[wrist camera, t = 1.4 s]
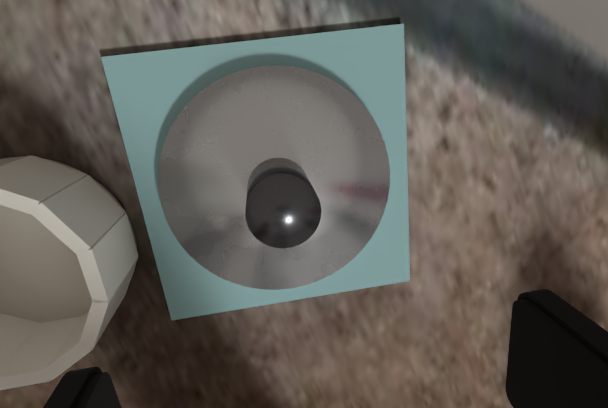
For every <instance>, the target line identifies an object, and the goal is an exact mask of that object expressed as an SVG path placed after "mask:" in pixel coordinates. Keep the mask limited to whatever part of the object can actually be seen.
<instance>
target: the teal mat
mask: <svg viewBox="0 0 608 408" xmlns="http://www.w3.org/2000/svg"><path fill="white" fill-rule="evenodd" d="M101 59H102V62H103V66H104V70H105V74H106V77H107V81H108V85H109V89H110V92H111V96H112V100H113V104H114V107H115V111H116V115H117V119H118V122H119V126H120V130H121V134H122V137H123V141H124V145H125V149H126V152H127V156H128V160H129V164H130V167H131V171H132V175H133V178H134V182H135V186H136V190H137V193H138V197H139V201H140V205H141V208H142V212H143V216H144V220H145V223H146V227H147V231H148V235H149V238H150V242H151V246H152V250H153V253H154V257H155V261H156V265H157V268H158V272H159V276H160V280H161V283H162V287H163V291H164V295H165V298H166V302H167V306H168V310H169V313H170V317H171V321H172V320H178V319H184V318H190V317H196V316H202V315H208V314H214V313H220V312H226V311H232V310H238V309H244V308H250V307H256V306H262V305H268V304H274V303H280V302H286V301H292V300H298V299H304V298H309V297H315V296H321V295H327V294H333V293H339V292H345V291H351V290H357V289H363V288H369V287H375V286H381V285H387V284H393V283H399V282H405V281H410V261H409V219H408V177H407V135H406V94H405V52H404V24H396V25H387V26H378V27H369V28H360V29H350V30H341V31H332V32H323V33H314V34H305V35H296V36H287V37H278V38H269V39H259V40H250V41H241V42H232V43H223V44H214V45H205V46H196V47H187V48H178V49H169V50H159V51H150V52H141V53H132V54H123V55H114V56H105V57H101ZM273 65H280V66H291V67H297V68H302V69H306V70H310V71H313V72H315V73H318V74H321V75H323V76H326V77H328V78H329V79H331V80H333V81H335V82H336V83H338V84H340V85H341V86H343V87H344V88H345V89H347V90H348V91H349V92H351V93H352V94H353V95H354V96H355V97H356V98H357V99H358V100H359V101H360V102H361V103H362V104H363V105H364V106H365V108H366V109H367V110H368V112H369V113H370V114H371V116H372V117H373V119H374V121H375V122H376V124H377V126H378V128H379V130H380V132H381V134H382V137H383V140H384V142H385V145H386V149H387V153H388V157H389V166H390V188H389V194H388V200H387V204H386V207H385V211H384V214H383V216H382V219H381V221H380V223H379V226H378V227H377V229H376V231H375V233H374V234H373V236H372V238H371V239H370V240H369V242H368V243H367V244H366V246H365V247H364V248H363V249H362V251H361V252H360V253H359V254H358V255H357V256H356V257H355V258H354V259H353V260H351V261H350V262H349V263H348V264H346V265H345V266H344V267H343V268H341V269H340V270H338V271H336V272H335V273H333V274H332V275H330V276H328V277H326V278H324V279H321V280H319V281H317V282H314V283H311V284H308V285H305V286H300V287H296V288H290V289H281V290H264V289H256V288H250V287H246V286H242V285H238V284H235V283H232V282H230V281H227V280H224V279H222V278H220V277H219V276H217V275H215V274H213V273H211V272H210V271H208V270H207V269H205V268H204V267H202V266H201V265H200V264H199V263H197V262H196V261H195V260H194V259H193V258H192V257H191V256H190V255H189V254H188V253H187V252H186V251H185V250H184V248H183V247H182V246H181V245H180V244H179V242H178V241H177V239H176V237H175V236H174V234H173V233H172V231H171V229H170V227H169V225H168V223H167V221H166V218H165V215H164V212H163V209H162V206H161V201H160V196H159V190H158V170H159V160H160V156H161V152H162V148H163V144H164V142H165V139H166V137H167V134H168V132H169V130H170V128H171V126H172V125H173V123H174V121H175V119H176V118H177V116H178V115H179V113H180V112H181V111H182V110H183V109H184V107H185V106H186V105H187V104H188V102H190V101H191V100H192V99H193V98H194V97H195V96H196V95H197V94H198V93H199V92H200V91H202V90H203V89H205V88H206V87H207V86H209V85H210V84H212V83H213V82H215V81H217V80H219V79H221V78H223V77H225V76H227V75H229V74H232V73H235V72H238V71H241V70H244V69H248V68H253V67H259V66H273Z"/></svg>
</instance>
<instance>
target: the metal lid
mask: <svg viewBox="0 0 608 408" xmlns="http://www.w3.org/2000/svg"><path fill="white" fill-rule="evenodd" d="M389 188H390V166H389V157H388V153H387V149H386V145H385V142H384V140H383V137H382V134H381V132H380V130H379V128H378V126H377V124H376V122H375V121H374V119H373V117H372V116H371V114H370V113H369V112H368V110H367V109H366V108H365V106H364V105H363V104H362V103H361V102H360V101H359V100H358V99H357V98H356V97H355V96H354V95H353V94H352V93H351V92H349V91H348V90H347V89H345V88H344V87H343V86H341V85H340V84H338V83H336V82H335V81H333V80H331V79H329V78H328V77H326V76H323V75H321V74H318V73H315V72H313V71H310V70H306V69H302V68H297V67H291V66H280V65H273V66H259V67H253V68H248V69H244V70H241V71H238V72H235V73H232V74H229V75H227V76H225V77H223V78H221V79H219V80H217V81H215V82H213V83H212V84H210V85H209V86H207V87H206V88H205V89H203V90H202V91H200V92H199V93H198V94H197V95H196V96H195V97H194V98H193V99H192V100H191V101H190V102H188V104H187V105H186V106H185V107H184V109H183V110H182V111H181V112H180V113H179V115H178V116H177V118H176V119H175V121H174V123H173V125H172V126H171V128H170V130H169V132H168V134H167V137H166V139H165V142H164V144H163V148H162V152H161V156H160V160H159V170H158V190H159V196H160V201H161V206H162V209H163V212H164V215H165V218H166V221H167V223H168V225H169V227H170V229H171V231H172V233H173V234H174V236H175V237H176V239H177V241H178V242H179V244H180V245H181V246H182V247H183V248H184V250H185V251H186V252H187V253H188V254H189V255H190V256H191V257H192V258H193V259H194V260H195V261H196V262H197V263H199V264H200V265H201V266H202V267H204V268H205V269H207V270H208V271H210V272H211V273H213V274H215V275H217V276H219V277H220V278H222V279H224V280H227V281H230V282H232V283H235V284H238V285H242V286H246V287H250V288H256V289H264V290H281V289H290V288H296V287H300V286H305V285H308V284H311V283H314V282H317V281H319V280H321V279H324V278H326V277H328V276H330V275H332V274H333V273H335V272H336V271H338V270H340V269H341V268H343V267H344V266H345V265H346V264H348V263H349V262H350V261H351V260H353V259H354V258H355V257H356V256H357V255H358V254H359V253H360V252H361V251H362V249H363V248H364V247H365V246H366V244H367V243H368V242H369V240H370V239H371V238H372V236H373V234H374V233H375V231H376V229H377V227H378V226H379V223H380V221H381V219H382V216H383V214H384V211H385V207H386V204H387V200H388V194H389Z"/></svg>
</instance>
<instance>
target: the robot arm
mask: <svg viewBox="0 0 608 408" xmlns="http://www.w3.org/2000/svg"><path fill="white" fill-rule="evenodd" d="M506 393H507V397H508V399H509V401H510V403H511V404H512V406H513V407H514V408H608V332H607V331H606V330H604V329H603V328H602V327H600V326H599V325H597V324H596V323H595V322H593V321H592V320H590V319H589V318H588V317H586V316H585V315H584V314H582V313H581V312H579V311H578V310H577V309H575V308H574V307H572V306H571V305H570V304H568V303H567V302H566V301H564V300H563V299H561V298H560V297H559V296H557V295H556V294H555V293H553V292H552V291H550V290H547V289H542V290H537V291H531V292H525V293H522V294H520V295H519V297H518V300H517V301H515V302H514V303H513V308H512V319H511V331H510V343H509V354H508V366H507V378H506ZM43 408H121V405H120V403H119V400H118V397H117V394H116V391H115V388H114V385H113V383H112V380H111V377H110V375H109V374H108V373H107V372H103V373H102V371H101V369H100V368H98V367H91V368H85V369H79V370H73V371H69V372H67V373H66V374H65V375H64V376H63V377H62V379H61V381H60V382H59V384H58V385H57V387H56V388H55V390H54V392H53V393H52V395H51V396H50V398H49V399H48V401H47V403H46V404H45V406H44V407H43Z"/></svg>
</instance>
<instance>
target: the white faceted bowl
mask: <svg viewBox="0 0 608 408" xmlns="http://www.w3.org/2000/svg"><path fill="white" fill-rule="evenodd" d="M137 260H138V252H137V243H136V238H135V233H134V230H133V227H132V224H131V222H130V220H129V218H128V216H127V213H126V211H125V210H124V209H123V208H122V206H121V205H120V203H119V202H118V201H117V199H116V198H115V197H114V196H113V195H112V194H111V193H110V192H109V191H108V190H107V189H106V188H105V187H104V186H103V185H101V184H100V183H99V182H98V181H96V180H95V179H93V178H92V177H90V176H89V175H87V174H85V173H83V172H82V171H80V170H78V169H76V168H73V167H71V166H69V165H66V164H64V163H60V162H57V161H53V160H49V159H44V158H39V157H37V156H32V155H30V156H22V157H9V158H3V159H0V390H4V389H9V388H15V387H21V386H26V385H32V384H38V383H43V382H49V381H50V380H51V381H52V380H53V379H54V378H56V377H57V376H58V375H60V374H61V373H62V372H64V371H65V370H66V369H68V368H69V367H70V366H72V365H73V364H74V363H76V362H77V361H78V360H80V359H81V358H82V357H84V356H85V355H86V354H88V353H89V352H90V351H92V350H93V349H94V347H95V345H96V344H97V342H98V340H99V339H100V337H101V335H102V334H103V332H104V330H105V328H106V327H107V325H108V323H109V322H110V320H111V318H112V317H113V315H114V313H115V312H116V310H117V308H118V307H119V305H120V303H121V302H122V300H123V298H124V297H125V295H126V292H127V289H128V286H129V283H130V281H131V278H132V276H133V274H134V270H135V266H136V263H137Z"/></svg>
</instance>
